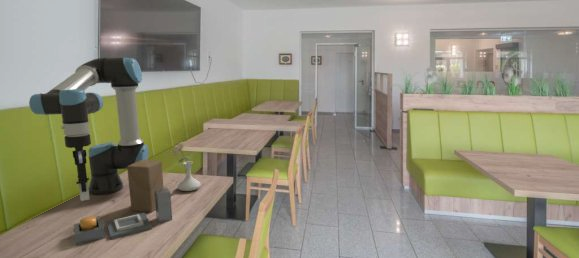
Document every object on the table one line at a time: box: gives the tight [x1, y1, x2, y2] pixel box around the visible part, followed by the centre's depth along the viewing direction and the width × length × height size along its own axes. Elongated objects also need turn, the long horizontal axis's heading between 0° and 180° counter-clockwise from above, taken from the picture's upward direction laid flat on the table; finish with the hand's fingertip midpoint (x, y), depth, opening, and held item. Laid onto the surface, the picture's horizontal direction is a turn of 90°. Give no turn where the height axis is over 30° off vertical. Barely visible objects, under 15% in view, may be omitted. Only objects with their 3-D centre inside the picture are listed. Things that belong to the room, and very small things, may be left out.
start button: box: [79, 215, 97, 230], centre depth 120 cm, size 5×5×3 cm
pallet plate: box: [106, 212, 153, 240], centre depth 128 cm, size 14×14×2 cm
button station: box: [73, 217, 106, 246], centre depth 121 cm, size 9×9×4 cm
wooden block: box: [126, 159, 165, 213], centre depth 144 cm, size 10×10×20 cm
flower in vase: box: [172, 141, 202, 192], centre depth 164 cm, size 13×11×25 cm
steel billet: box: [154, 187, 173, 224], centre depth 134 cm, size 5×5×12 cm
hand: (85, 199), depth 118 cm, fingers closed
